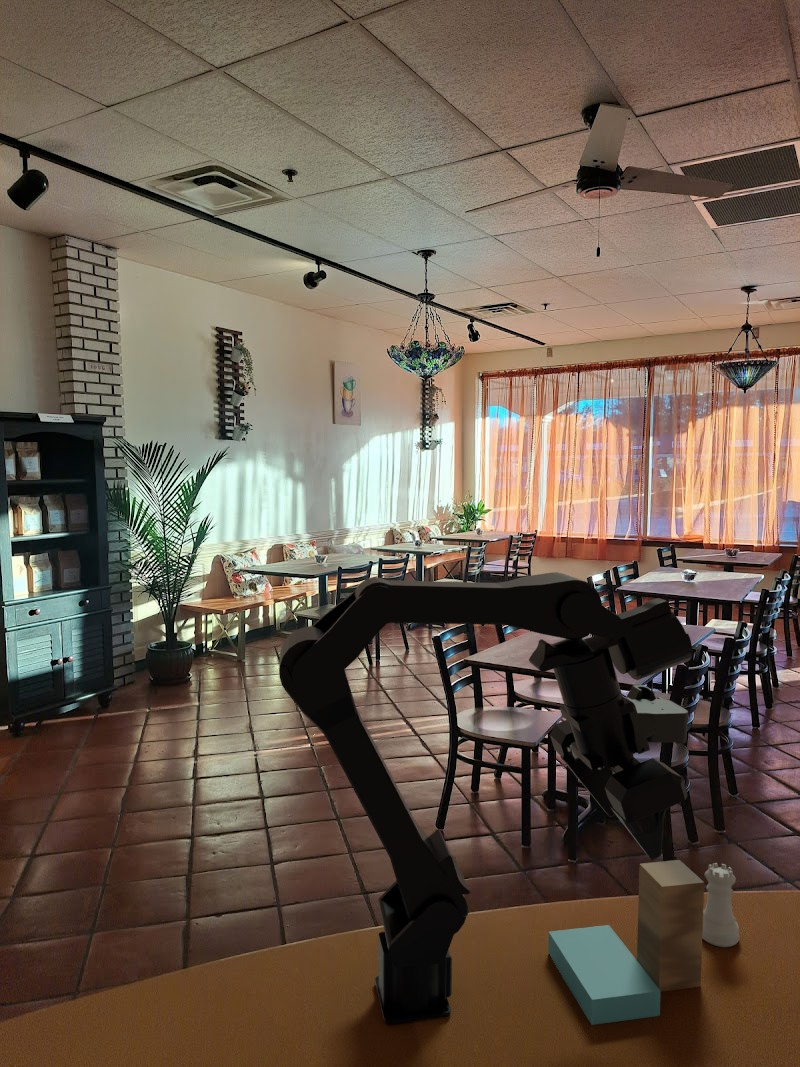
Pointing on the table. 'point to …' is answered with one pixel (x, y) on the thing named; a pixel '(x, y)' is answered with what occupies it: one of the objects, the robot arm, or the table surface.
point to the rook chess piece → (719, 908)
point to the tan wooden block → (670, 924)
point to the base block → (603, 975)
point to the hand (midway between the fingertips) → (633, 834)
